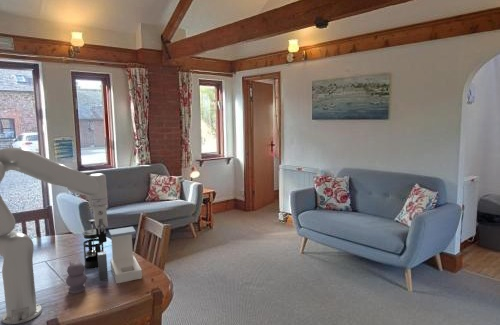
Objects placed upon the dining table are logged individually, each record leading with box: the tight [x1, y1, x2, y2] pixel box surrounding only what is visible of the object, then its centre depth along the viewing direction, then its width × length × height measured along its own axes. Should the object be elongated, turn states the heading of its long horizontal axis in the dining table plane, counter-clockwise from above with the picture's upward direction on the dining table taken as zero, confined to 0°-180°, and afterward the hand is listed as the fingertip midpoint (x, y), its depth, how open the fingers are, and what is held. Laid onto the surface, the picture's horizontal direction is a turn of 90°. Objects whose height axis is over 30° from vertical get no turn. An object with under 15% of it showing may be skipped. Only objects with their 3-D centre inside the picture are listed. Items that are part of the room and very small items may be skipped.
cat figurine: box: [65, 261, 88, 295], centre depth 154 cm, size 8×8×12 cm
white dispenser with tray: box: [108, 226, 143, 284], centre depth 170 cm, size 19×11×19 cm, turn 27°
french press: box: [82, 218, 105, 270], centre depth 178 cm, size 12×9×23 cm
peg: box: [97, 251, 109, 282], centre depth 164 cm, size 3×3×12 cm
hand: (101, 238), depth 163 cm, fingers open, 9 cm apart
